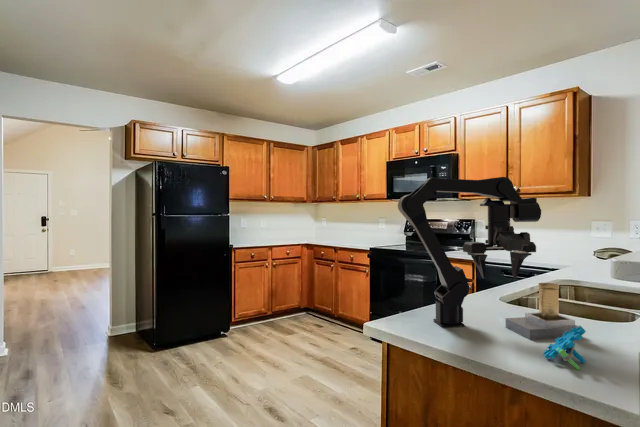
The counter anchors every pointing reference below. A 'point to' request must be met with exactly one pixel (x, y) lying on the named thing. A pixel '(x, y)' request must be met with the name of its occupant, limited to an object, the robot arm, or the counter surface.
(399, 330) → the counter surface
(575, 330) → the blue green toy
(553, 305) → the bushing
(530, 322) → the jig
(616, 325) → the counter surface
